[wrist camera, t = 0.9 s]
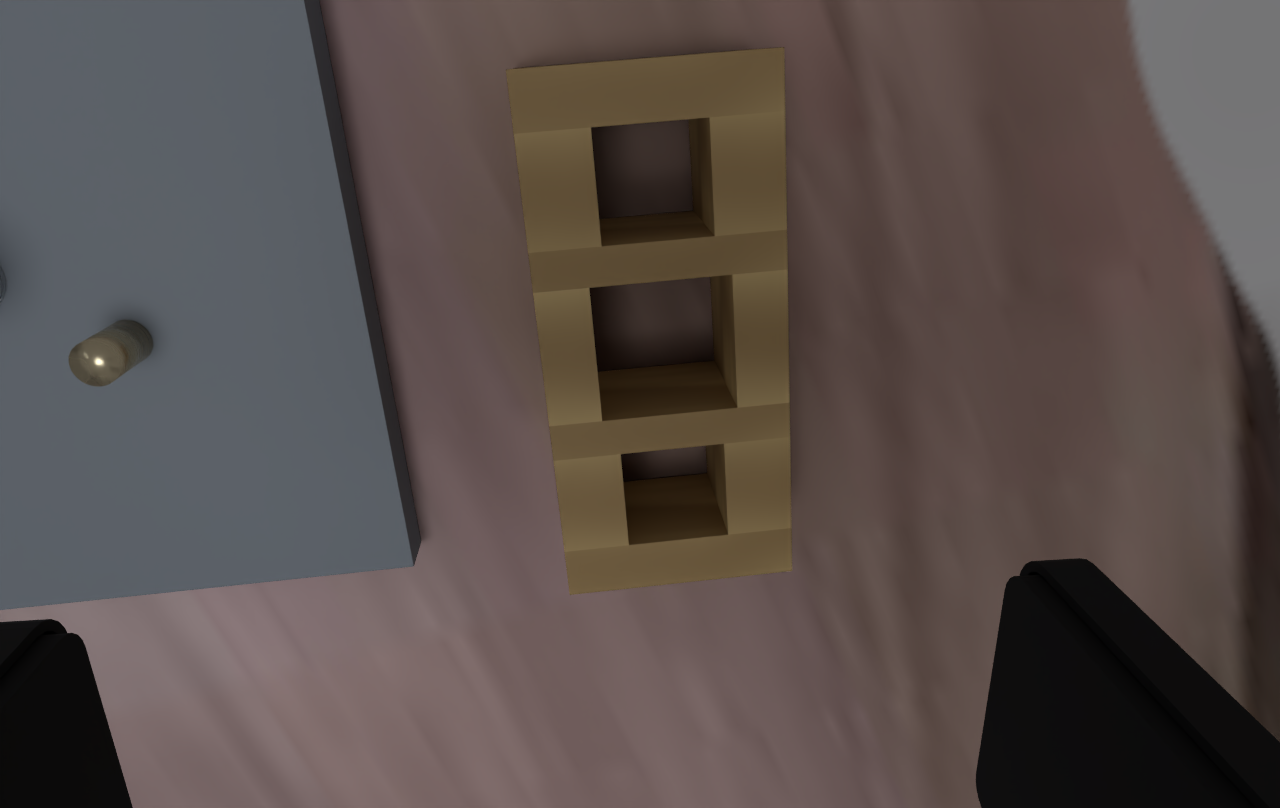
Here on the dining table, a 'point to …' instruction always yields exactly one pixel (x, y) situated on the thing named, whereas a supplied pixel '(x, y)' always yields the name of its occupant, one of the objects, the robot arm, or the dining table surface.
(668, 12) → the dining table surface
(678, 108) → the tan slatted rectangular block
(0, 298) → the pegs
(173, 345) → the slate board
